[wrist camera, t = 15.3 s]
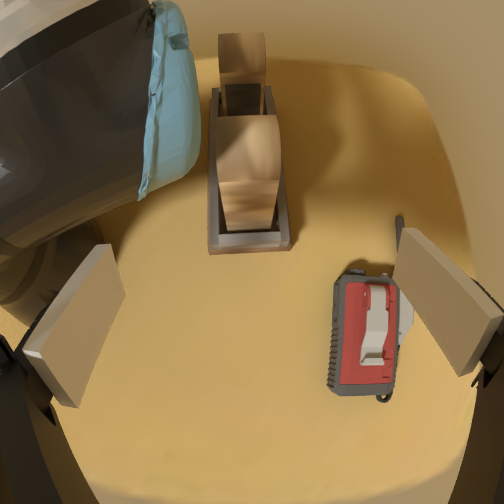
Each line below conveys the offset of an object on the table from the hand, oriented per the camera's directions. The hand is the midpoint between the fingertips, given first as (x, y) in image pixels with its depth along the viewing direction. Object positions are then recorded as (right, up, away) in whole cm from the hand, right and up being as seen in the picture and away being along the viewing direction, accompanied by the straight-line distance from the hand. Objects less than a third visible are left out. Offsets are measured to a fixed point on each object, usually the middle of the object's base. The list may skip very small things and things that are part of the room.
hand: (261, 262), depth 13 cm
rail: (-1, +10, +20) cm, 22 cm away
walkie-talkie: (+12, -5, +16) cm, 21 cm away
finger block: (-1, +5, +17) cm, 17 cm away
